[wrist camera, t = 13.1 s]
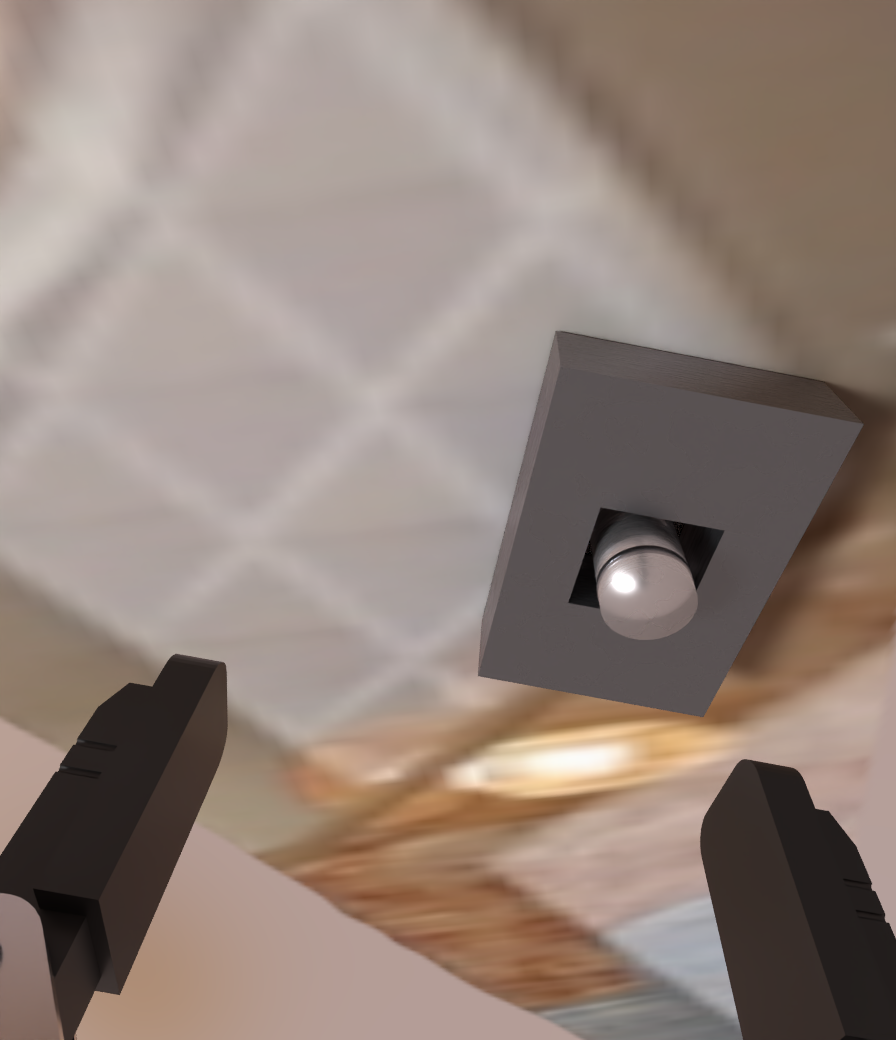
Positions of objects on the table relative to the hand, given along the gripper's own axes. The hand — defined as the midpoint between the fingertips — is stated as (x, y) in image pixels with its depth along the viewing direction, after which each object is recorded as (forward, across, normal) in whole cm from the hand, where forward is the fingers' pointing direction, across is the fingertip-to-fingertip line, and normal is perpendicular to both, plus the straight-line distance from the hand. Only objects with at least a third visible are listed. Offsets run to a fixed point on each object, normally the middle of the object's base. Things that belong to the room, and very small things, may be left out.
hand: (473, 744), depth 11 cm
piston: (+28, -10, +12) cm, 32 cm away
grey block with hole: (+28, -10, +12) cm, 32 cm away
